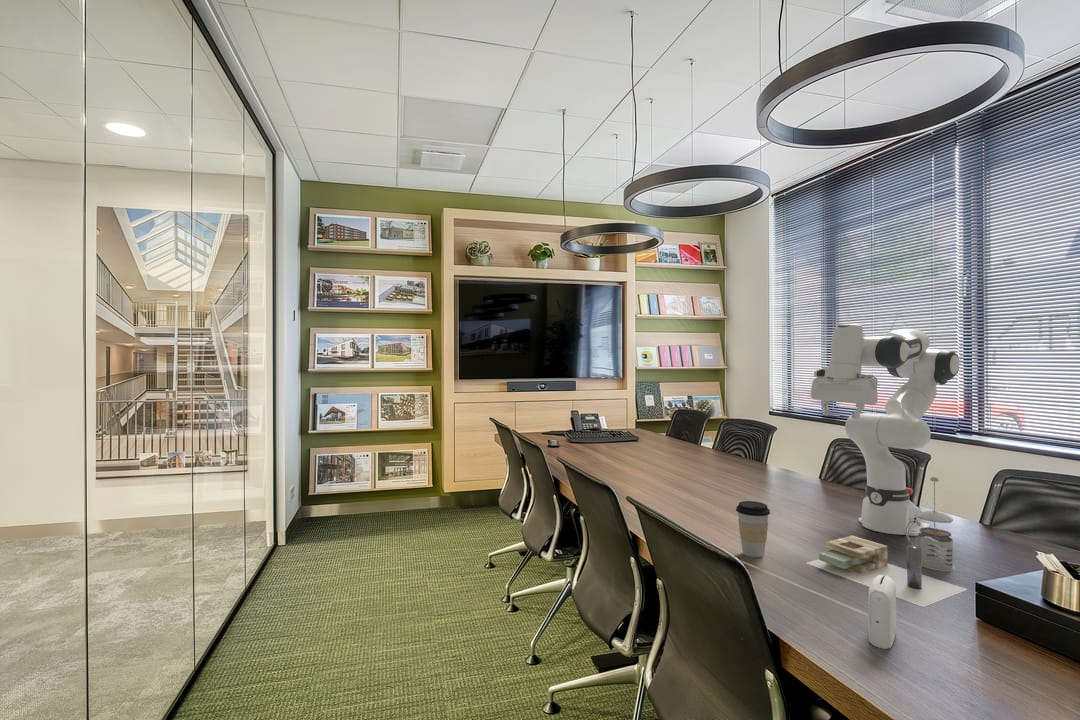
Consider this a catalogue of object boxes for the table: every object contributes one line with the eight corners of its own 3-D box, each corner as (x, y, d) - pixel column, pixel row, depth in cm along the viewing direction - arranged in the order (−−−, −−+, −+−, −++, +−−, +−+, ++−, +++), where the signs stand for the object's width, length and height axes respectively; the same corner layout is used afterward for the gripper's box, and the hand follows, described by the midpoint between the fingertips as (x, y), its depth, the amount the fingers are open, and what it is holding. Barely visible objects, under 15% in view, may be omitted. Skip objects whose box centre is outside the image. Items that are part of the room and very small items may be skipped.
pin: (911, 583, 133) (911, 544, 133) (924, 587, 131) (924, 547, 131) (904, 585, 132) (904, 546, 132) (917, 590, 129) (917, 549, 129)
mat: (849, 552, 156) (849, 550, 156) (968, 591, 129) (968, 589, 129) (805, 564, 147) (805, 562, 147) (923, 609, 120) (923, 607, 120)
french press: (964, 575, 139) (963, 481, 139) (912, 569, 143) (911, 478, 143) (949, 562, 148) (948, 474, 148) (901, 557, 152) (900, 471, 152)
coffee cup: (755, 563, 148) (754, 510, 148) (729, 552, 157) (728, 502, 157) (777, 557, 153) (777, 506, 153) (751, 547, 161) (750, 498, 161)
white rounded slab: (892, 652, 103) (891, 589, 103) (866, 644, 106) (866, 583, 106) (898, 631, 111) (897, 573, 111) (874, 624, 114) (873, 568, 114)
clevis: (851, 554, 154) (851, 535, 154) (887, 565, 145) (887, 546, 145) (814, 564, 146) (814, 545, 146) (849, 577, 137) (849, 556, 137)
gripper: (884, 375, 157) (880, 421, 157) (822, 373, 176) (818, 414, 175) (871, 373, 155) (867, 420, 154) (809, 371, 173) (805, 412, 173)
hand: (840, 416), depth 165 cm, fingers open, 8 cm apart
